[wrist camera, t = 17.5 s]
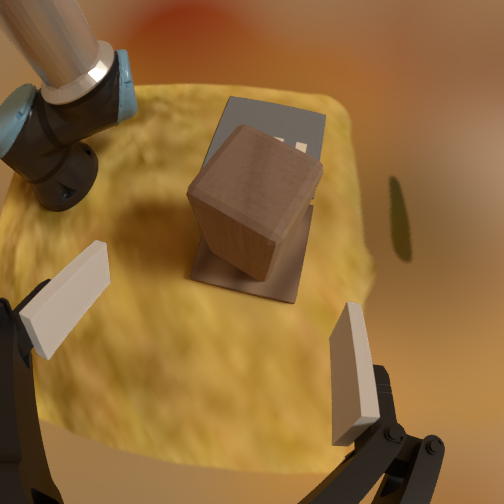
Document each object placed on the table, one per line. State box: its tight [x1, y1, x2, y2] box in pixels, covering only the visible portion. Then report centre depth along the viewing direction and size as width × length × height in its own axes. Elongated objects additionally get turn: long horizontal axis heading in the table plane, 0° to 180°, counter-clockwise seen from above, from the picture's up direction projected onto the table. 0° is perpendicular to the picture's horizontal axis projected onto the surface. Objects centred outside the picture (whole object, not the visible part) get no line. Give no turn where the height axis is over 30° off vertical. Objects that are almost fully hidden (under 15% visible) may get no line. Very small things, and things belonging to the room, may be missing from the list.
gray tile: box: [202, 96, 326, 199], centre depth 52 cm, size 20×20×1 cm
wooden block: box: [186, 124, 323, 282], centre depth 36 cm, size 10×10×20 cm
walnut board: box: [190, 205, 313, 304], centre depth 46 cm, size 16×16×2 cm
